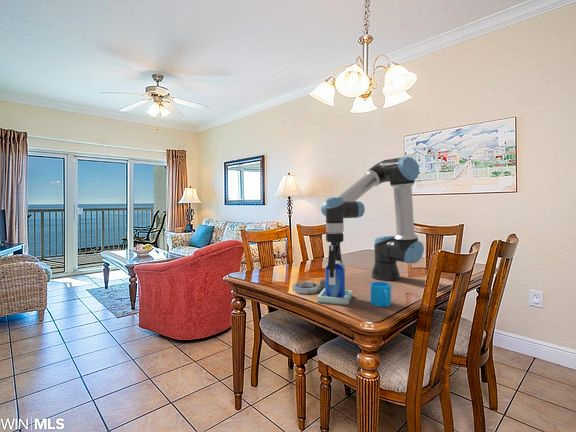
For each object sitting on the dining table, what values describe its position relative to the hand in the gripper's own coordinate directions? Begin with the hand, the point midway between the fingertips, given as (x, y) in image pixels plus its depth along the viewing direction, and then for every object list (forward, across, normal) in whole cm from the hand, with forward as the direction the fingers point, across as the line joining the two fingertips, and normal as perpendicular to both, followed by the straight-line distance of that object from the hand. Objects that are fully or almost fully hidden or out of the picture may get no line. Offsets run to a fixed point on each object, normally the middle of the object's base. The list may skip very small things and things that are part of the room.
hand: (335, 280), depth 137 cm
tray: (+8, 0, 0) cm, 8 cm away
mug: (+8, +2, +20) cm, 22 cm away
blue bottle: (+8, 0, 0) cm, 8 cm away
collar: (+8, -10, -16) cm, 21 cm away
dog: (+8, -12, -8) cm, 16 cm away
